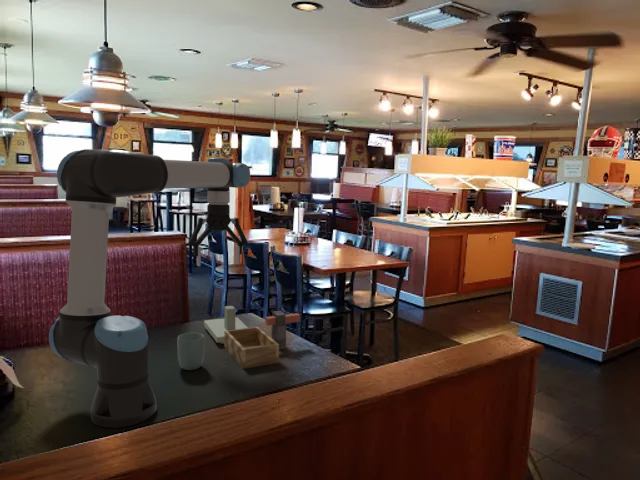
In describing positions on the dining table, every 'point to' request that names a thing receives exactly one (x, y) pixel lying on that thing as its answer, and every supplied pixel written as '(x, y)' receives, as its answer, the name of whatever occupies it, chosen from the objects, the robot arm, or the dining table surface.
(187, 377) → the dining table surface
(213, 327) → the lid
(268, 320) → the red bar
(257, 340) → the wooden box
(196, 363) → the cup
